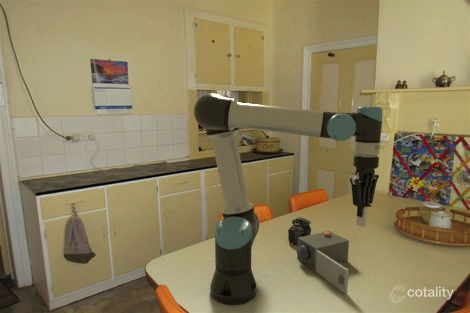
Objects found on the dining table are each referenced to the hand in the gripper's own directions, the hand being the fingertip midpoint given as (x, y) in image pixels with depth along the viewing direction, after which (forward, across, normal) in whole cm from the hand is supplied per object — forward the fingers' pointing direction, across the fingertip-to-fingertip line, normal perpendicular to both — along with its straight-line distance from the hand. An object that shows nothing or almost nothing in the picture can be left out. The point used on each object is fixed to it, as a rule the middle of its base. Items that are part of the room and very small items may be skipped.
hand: (361, 225), depth 107 cm
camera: (+21, +12, +37) cm, 44 cm away
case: (+21, +4, +18) cm, 28 cm away
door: (+21, -7, +6) cm, 23 cm away
